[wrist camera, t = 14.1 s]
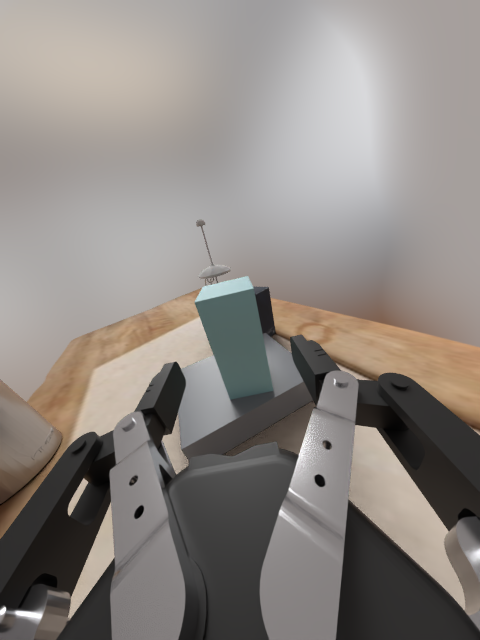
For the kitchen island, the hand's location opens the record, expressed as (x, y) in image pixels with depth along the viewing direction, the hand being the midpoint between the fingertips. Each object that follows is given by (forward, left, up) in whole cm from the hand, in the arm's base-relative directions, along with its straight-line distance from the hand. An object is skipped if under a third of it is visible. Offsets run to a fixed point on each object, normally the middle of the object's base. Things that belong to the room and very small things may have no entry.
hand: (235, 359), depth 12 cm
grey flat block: (+1, +8, -12) cm, 15 cm away
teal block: (+2, +6, -8) cm, 11 cm away
